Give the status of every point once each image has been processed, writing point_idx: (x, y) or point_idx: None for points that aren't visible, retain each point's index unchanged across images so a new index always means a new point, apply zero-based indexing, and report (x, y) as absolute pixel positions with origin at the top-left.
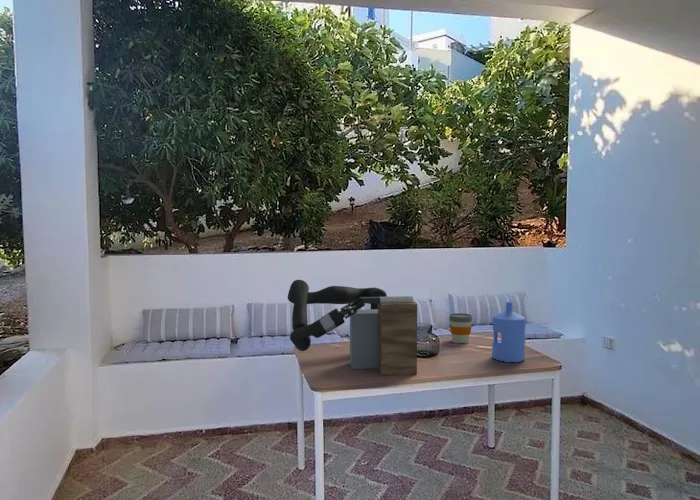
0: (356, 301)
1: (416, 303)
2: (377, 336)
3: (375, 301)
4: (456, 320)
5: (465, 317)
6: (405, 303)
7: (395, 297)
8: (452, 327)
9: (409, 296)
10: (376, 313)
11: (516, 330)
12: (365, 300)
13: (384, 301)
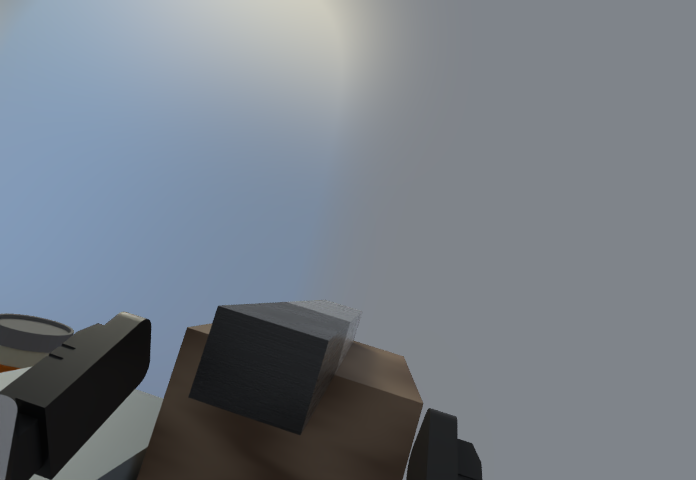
0: (93, 376)
1: (386, 351)
2: None
3: (335, 363)
4: (38, 346)
5: (69, 334)
6: (381, 357)
7: (354, 314)
8: (7, 370)
9: (331, 302)
10: (124, 463)
11: None
12: (326, 367)
13: (342, 353)
